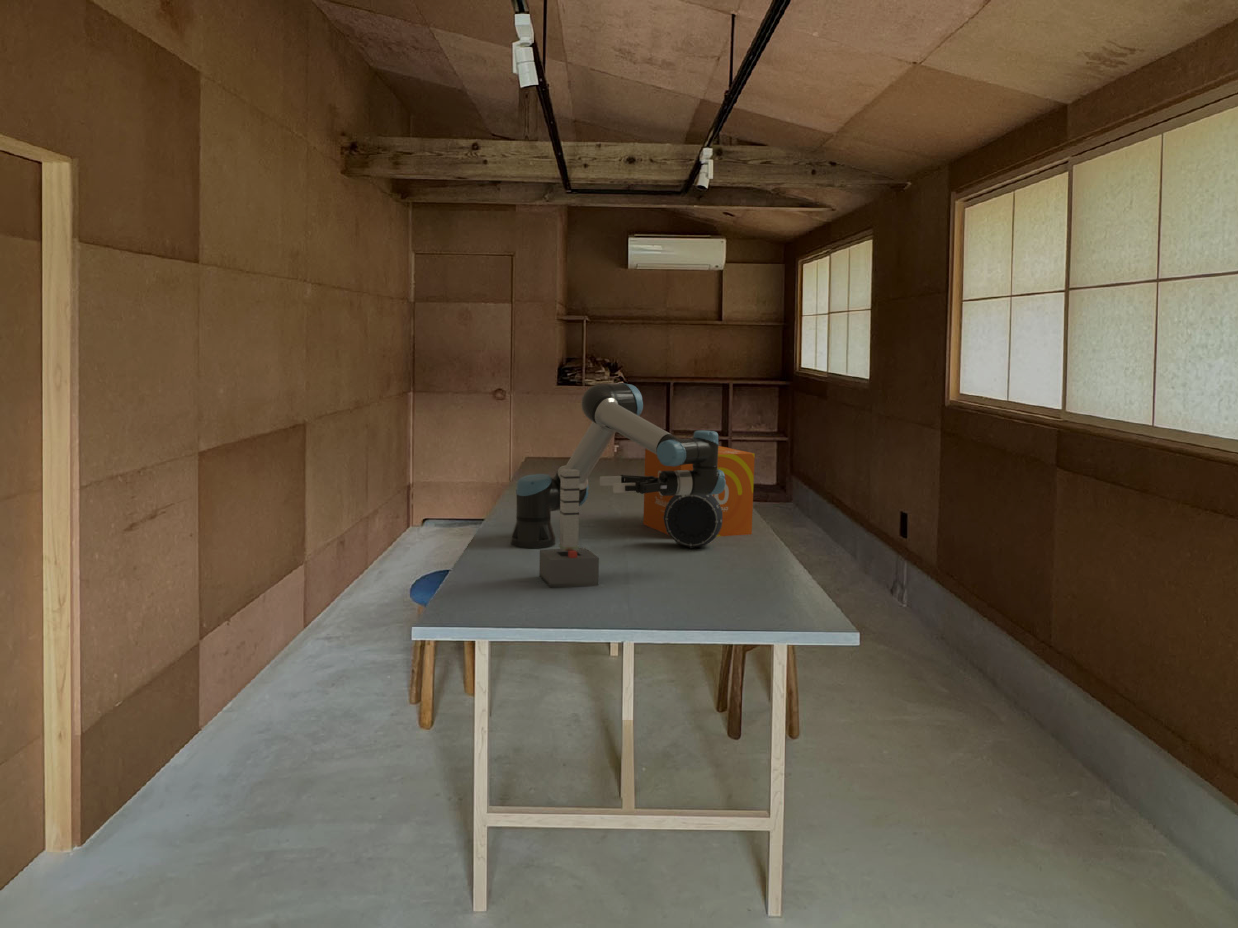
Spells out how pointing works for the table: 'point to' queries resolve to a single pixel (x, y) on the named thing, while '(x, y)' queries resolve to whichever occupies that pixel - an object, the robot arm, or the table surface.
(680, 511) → the studded black puck
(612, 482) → the robot arm
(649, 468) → the box
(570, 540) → the column
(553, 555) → the stand
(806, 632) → the table surface
